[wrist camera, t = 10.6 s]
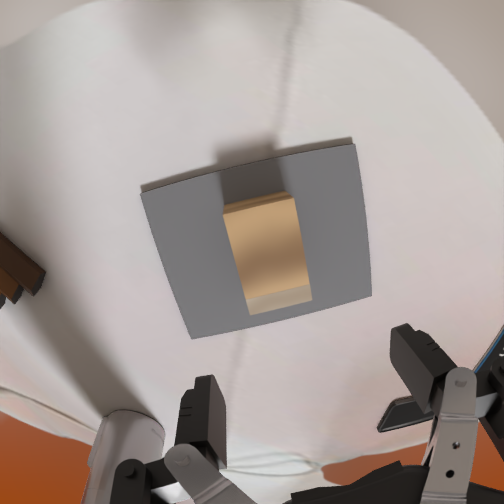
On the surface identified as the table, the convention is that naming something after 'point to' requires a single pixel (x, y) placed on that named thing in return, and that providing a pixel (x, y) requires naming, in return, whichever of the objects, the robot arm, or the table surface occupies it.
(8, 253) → the ridged wooden panel
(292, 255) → the block
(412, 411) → the phone
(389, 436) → the table surface
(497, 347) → the sketchbook
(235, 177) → the mat
